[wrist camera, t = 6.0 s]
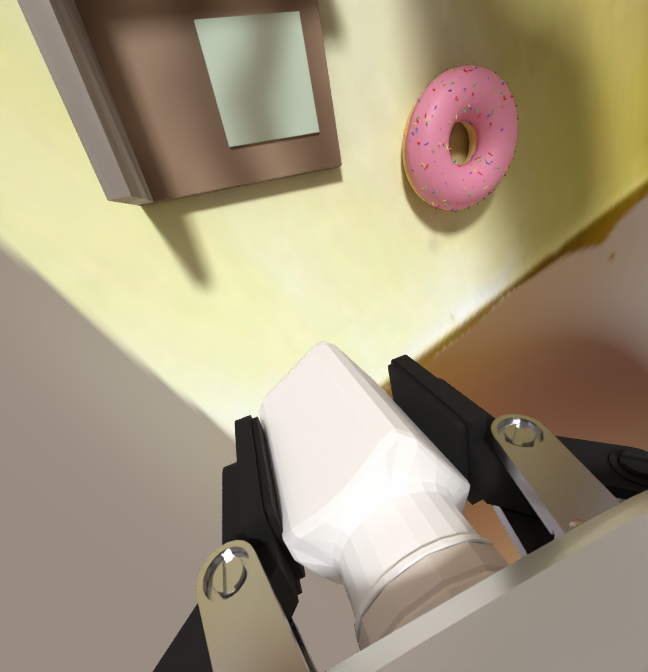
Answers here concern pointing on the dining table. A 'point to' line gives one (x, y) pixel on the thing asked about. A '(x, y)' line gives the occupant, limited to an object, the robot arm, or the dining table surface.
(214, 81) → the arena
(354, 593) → the salt shaker
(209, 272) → the dining table surface
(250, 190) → the dining table surface
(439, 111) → the doughnut
